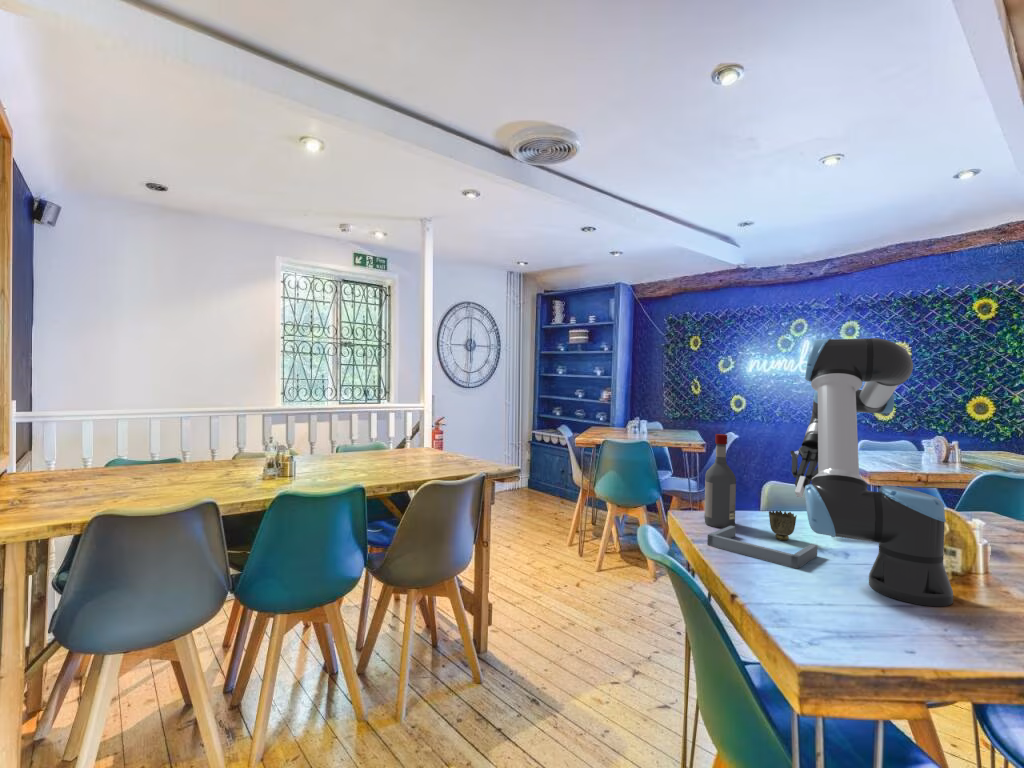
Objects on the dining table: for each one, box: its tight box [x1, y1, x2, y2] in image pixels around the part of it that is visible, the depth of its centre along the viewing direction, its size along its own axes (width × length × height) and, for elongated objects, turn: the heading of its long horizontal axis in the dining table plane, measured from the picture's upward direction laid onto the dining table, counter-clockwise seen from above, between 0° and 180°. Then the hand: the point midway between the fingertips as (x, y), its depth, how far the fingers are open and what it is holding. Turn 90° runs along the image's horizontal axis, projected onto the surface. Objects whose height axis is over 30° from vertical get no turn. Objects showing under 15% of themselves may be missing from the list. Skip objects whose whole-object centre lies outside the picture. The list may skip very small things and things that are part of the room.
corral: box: [706, 525, 818, 570], centre depth 143 cm, size 24×15×3 cm, turn 42°
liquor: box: [703, 433, 737, 529], centre depth 169 cm, size 9×9×30 cm
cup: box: [768, 510, 798, 542], centre depth 153 cm, size 8×7×8 cm
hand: (798, 494), depth 163 cm, fingers closed
